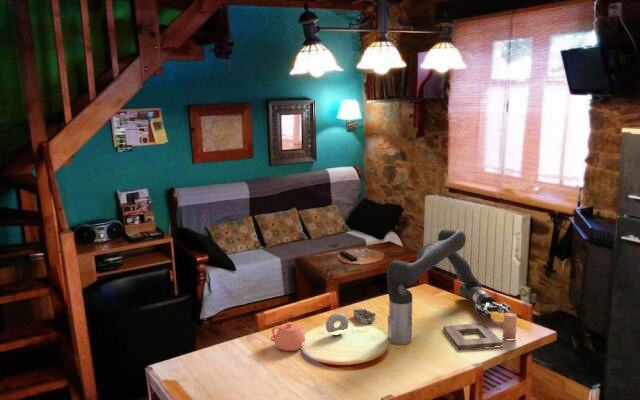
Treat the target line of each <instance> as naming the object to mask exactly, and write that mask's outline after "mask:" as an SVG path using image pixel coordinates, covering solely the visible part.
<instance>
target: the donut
mask: <svg viewBox="0 0 640 400" xmlns="http://www.w3.org/2000/svg"><path fill="white" fill-rule="evenodd" d="M336 322H340V324H339V325H338V327H335V323H336ZM325 328H326V331H327V333H328V332H334V331H337V330H344V329H347V330H348V328H349V318H348V317H347V315H345V314H344V313H342V312H335V313H332V314H330V315H329V316H328V317H327V319H326V322H325Z"/></svg>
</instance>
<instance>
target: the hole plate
mask: <svg viewBox="0 0 640 400" xmlns="http://www.w3.org/2000/svg"><path fill="white" fill-rule="evenodd" d="M442 330H444V331H445V332H444V331H443V332H444V334H445V335H446V334H447V335H448V336H447V335H446V336H447V337H448V338H450V339H449V340H450V341H451V343H452V342H453V343H452V344H453V346H455V347H456V349H457V350H458V351H465V350H466V349H467V350H476V349H475V348H481V349H486V348H485V347H495V346H501V345H503V344H504V342H503V341H502V340H501V338H500V337H499V336H497V335H496V334H495V333H494V332H493V331H492V329H491V328H490V327H488V326H487V325H486V323H484V322H483V323H480V322H479V323H478V322H477V323H463V324H451V325H442ZM474 332H478V333H477V334H478V335H479V336H480V335H481V336H482V337H483V338H482V337H481V336H480V337H481V338H468V339H467V338H465V337H464V336H463V334H460V333H467V334H475V333H474ZM495 348H496V347H495ZM467 350H466V351H467Z"/></svg>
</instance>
